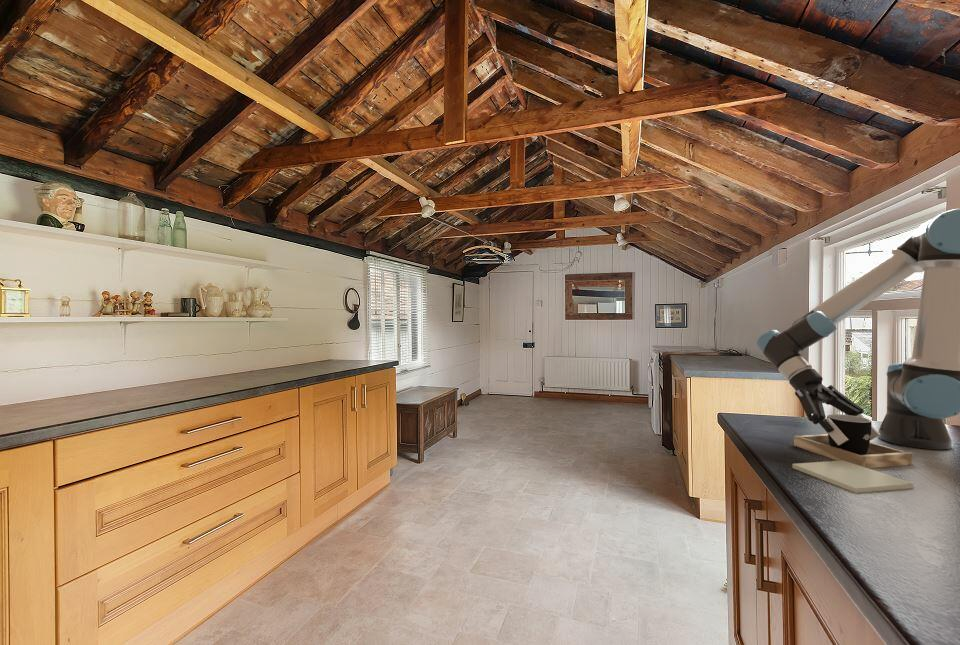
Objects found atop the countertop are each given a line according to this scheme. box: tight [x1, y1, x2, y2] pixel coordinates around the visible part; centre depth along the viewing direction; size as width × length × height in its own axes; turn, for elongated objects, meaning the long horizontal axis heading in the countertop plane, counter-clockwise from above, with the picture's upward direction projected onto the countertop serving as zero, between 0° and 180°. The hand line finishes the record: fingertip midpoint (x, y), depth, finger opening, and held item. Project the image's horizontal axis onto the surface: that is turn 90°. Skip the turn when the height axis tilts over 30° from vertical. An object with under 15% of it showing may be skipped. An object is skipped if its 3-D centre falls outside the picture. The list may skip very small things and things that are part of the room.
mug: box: [826, 413, 873, 455], centre depth 115 cm, size 12×9×10 cm
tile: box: [791, 460, 915, 494], centre depth 99 cm, size 15×15×1 cm
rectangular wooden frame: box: [793, 433, 913, 469], centre depth 115 cm, size 15×18×3 cm
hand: (859, 440), depth 113 cm, fingers open, 12 cm apart
